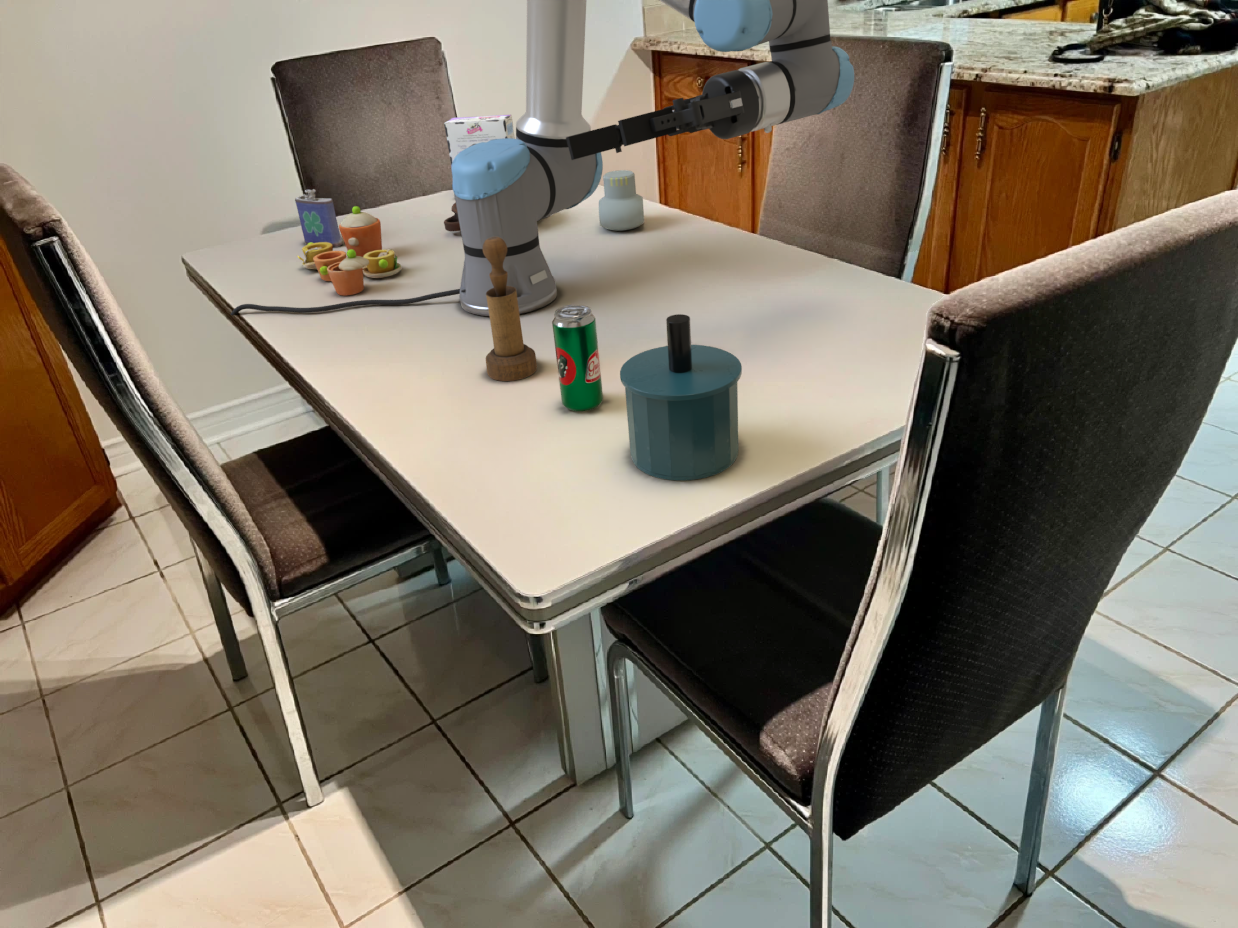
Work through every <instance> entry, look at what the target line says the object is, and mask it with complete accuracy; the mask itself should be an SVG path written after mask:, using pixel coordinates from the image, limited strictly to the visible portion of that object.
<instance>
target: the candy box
mask: <svg viewBox="0 0 1238 928" xmlns="http://www.w3.org/2000/svg"><path fill="white" fill-rule="evenodd" d="M443 126H444V131H445V137H446V142H447V149H448V155H449V161H450V166H451V167H452V162H453V160H454V158H455V157H456V155H457V154H459V153H460V152H461V151H463V150H464V149H466V148H468V147H470V146H473V145H475V144H478V143H481V142H488V141H490V140H494V139H503V138H513V139H516V136H515V131H514V130H515V129H514V123H513V116H512V114H498V115H497V114H496V115H480V116H477V115H476V116H463V117H451V118H450V119H448V120H447V121H445V122H443Z"/></svg>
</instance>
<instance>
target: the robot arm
mask: <svg viewBox="0 0 1238 928" xmlns="http://www.w3.org/2000/svg"><path fill="white" fill-rule="evenodd" d="M658 1H660V2H661V3H663V4H664V5H666V6H667V7H669V8H670V9H672V10H674V11H676V12H677V13H679V14H681V15H682V16H683V17H685V18H687V19H689V20H690V21H692V22H693V23H694V26H695V29H696V32H697V33H698V35H699V36H700V39H701V40H702V42H703V43H704V44H705V45H706V46H707V47H709V48H710V49H712V50H714V51H717V52H720V53H729V52H730V53H731V52H743V51H746V50H749V49H752V48H754V47H756V46H759V45H763V44H765V43H768V47H769V52H770V56H771V57H770V59H771V61H764V62H760V63H756V64H752V65H749V66H748V65H747V66H744V67H740V68H739V69H735V70H729V71H726V72H722V73H718V74H715V75H712V76H711V77H710V78H708V79H707V80H706V82H705V84H704V86H703V89H702V93H701V94H699V95H696V96H693V97H690V98H686V99H684V97H680V98H676V99H673V100H672V104H673V105H668V106H665V107H663V108H662V109H661V108H660V109H658V110H654V111H651V112H646V113H642V114H639V115H635V116H632V117H628V118H627V117H626V118H623V119H619V120H617V122H618V124H616V123H615V124H611V125H608V126H604V127H599V128H596V129H592V127H591V124H590V123H589V122H588V121H587V119H585V118H584V117H583V115H582V111H583V89H584V88H583V87H584V86H583V85H584V65H585V44H586V43H585V41H586V20H587V19H586V18H587V0H526V51H525V52H526V53H525V55H526V57H525V58H526V61H525V62H526V63H525V64H526V65H525V67H526V68H525V69H526V71H525V73H526V74H525V81H526V82H525V112H524V114H523V115H522V116H520V117H519V118H518V119H517V120H516V122H515V139H513V138H503V139H494V140H490V141H488V142H481V143H478V144H475V145H473V146H470V147H468V148H466V149H464V150H463V151H461V152H460V153H459V154H457V155H456V157H455V158H454V160H453V162H452V167H451V178H452V185H451V187H452V192H453V194H454V195H453V196H454V200H455V203H456V207H457V212H458V218H459V224H460V229H461V231H460V235H461V240H462V241H461V242H462V246H463V252H464V261H463V267H462V272H461V273H462V274H461V279H460V287H459V288H457V289H456V288H455V289H450V290H445V291H439V292H434V293H430V294H425V295H421V296H416V297H412V298H402V299H401V298H399V299H362V300H353V301H346V302H340V303H335V304H330V305H324V306H313V307H312V306H311V307H293V306H292V307H291V306H275V305H260V304H254V303H244V304H240V305H237V306H235V308H233V310H232V311H231V312H230V316H236V315H237V314H238V313H239V312H241V311H243V310H255V311H261V312H283V313H297V314H298V313H299V314H310V313H320V312H321V313H322V312H328V311H335V310H340V309H346V308H351V307H352V308H353V307H360V306H376V305H378V306H379V305H381V306H396V305H397V306H399V305H400V306H401V305H410V304H417V303H422V302H425V301H430V300H435V299H440V298H444V297H445V298H446V297H450V296H456V295H459V301H460V306H461V309H462V310H464V311H466V312H467V313H470V314H473V315H478V316H482V317H490V316H489V310H488V304H487V298H486V292H487V291H488V290H490V289H492V288H494V286H493V284H492V282H491V279H490V276H489V274H490V273H491V271H492V266H491V264H490V262H489V261H488V260H487V258H486V257H485V255H484V253H483V244H484V242H485V240H487V239H488V238H491V237H500V238H502V239H503V240H504V241H505V243H506V245H507V254H506V257H505V259H504V262H503V269H504V270H505V271H507V274H508V276H507V285H506V286H512V287H514V288H516V292H517V300H518V307H519V315H521V314H525V313H529V312H533V311H536V310H539V309H541V308H543V307H546V306H547V305H550V303H552V302H553V301H555V299H556V298H557V296H558V291H557V289H558V288H557V283H556V280H555V277H554V276H553V273H552V271H551V269H550V267H549V264H548V262H547V260H546V258H545V256H544V254H543V251H542V249H541V244H540V238H539V229H538V222H539V221H542V220H544V219H545V218H548V217H550V216H552V215H555V214H557V213H559V212H563V211H565V210H569V209H573V208H575V207H577V206H578V205H579V204H581V203H582V202H583V201H586V200H587V199H589V198H590V197H591V196H592V195H593V194H594V193H595V192H596V190H597V188H598V187H599V185H600V182H601V180H602V177H603V169H604V168H603V167H604V163H603V161H604V160H603V156H602V153H603V152H607V151H611V150H613V149H614V150H615V153H616V154H618V153H622V152H623V151H622V150H623V149H622V146H623V147H627V146H631V145H636V144H638V143H642V142H645V141H649V140H653V139H657V138H661V137H665V136H668V137H674V136H677V135H681V134H685V133H690V134H694V133H697V132H701V131H705V130H709V131H710V132H711V134H713V135H714V136H715V137H716V138H718V139H721V140H730V139H733V138H738V137H740V136H745V135H747V134H750V133H751V132H756V131H760V130H763V132H764V133H765V134H769V133H771V132H772V131H773V126H778V125H782V124H785V123H789V122H792V121H797V120H800V119H803V118H808V117H811V116H817V115H821V114H822V113H824V112H826V111H829V110H832V109H835V108H838V107H840V106H841V105H843V104H844V103H845V102H846V101H847V100H848V99H849V97H850V96H851V93H852V92H853V88H854V84H855V69H854V65H853V64H852V62H851V61H850V56H849V54H848V53H847V52H846V51H845V50H844V49H842V48H841V47H839V46H833V43H832V42H833V41H832V39H831V29H830V28H831V27H830V17H829V16H830V14H829V1H828V0H658Z"/></svg>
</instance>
